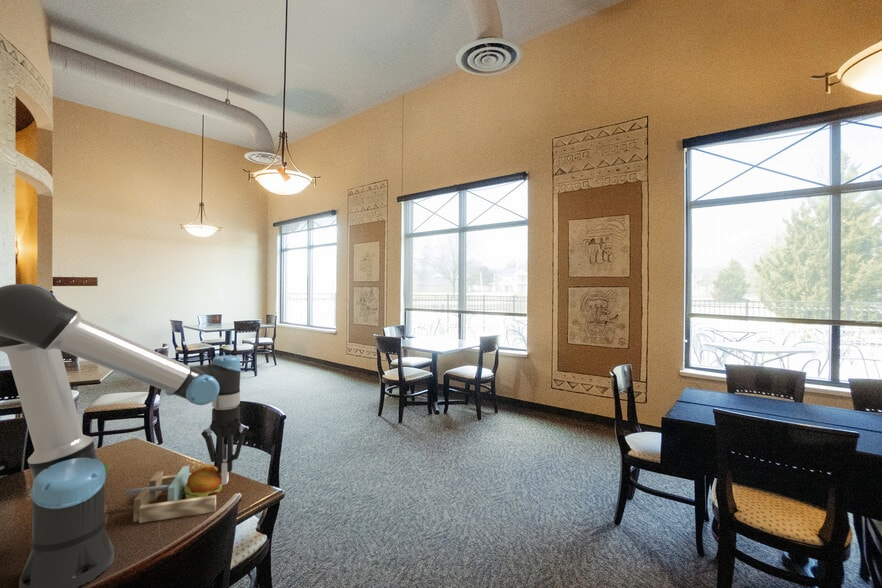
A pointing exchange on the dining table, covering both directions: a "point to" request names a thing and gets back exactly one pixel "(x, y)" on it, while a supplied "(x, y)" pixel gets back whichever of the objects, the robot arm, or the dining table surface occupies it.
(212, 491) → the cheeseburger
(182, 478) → the pusher
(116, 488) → the dining table surface
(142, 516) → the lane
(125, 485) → the dining table surface
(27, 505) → the dining table surface
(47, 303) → the robot arm
